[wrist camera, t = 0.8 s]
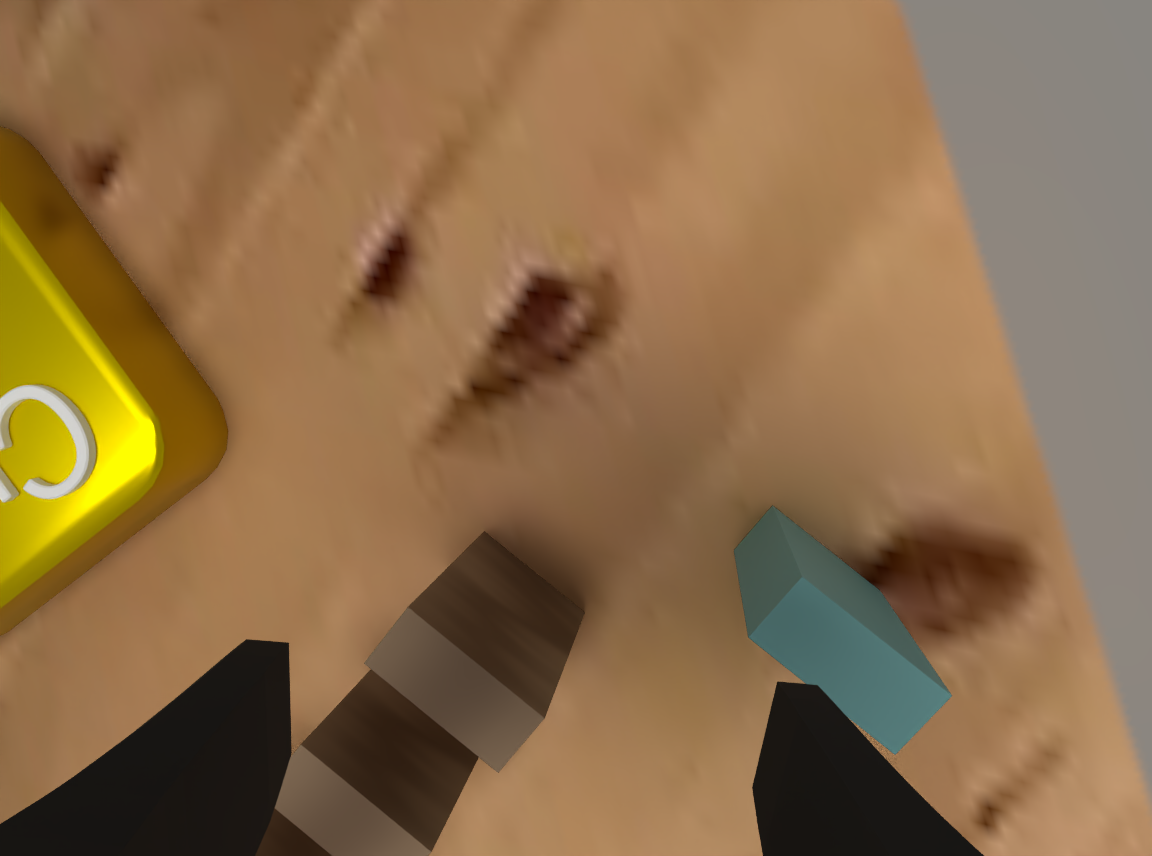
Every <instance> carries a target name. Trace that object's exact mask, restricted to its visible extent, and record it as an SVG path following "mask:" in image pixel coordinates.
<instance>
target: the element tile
mask: <svg viewBox="0 0 1152 856" xmlns="http://www.w3.org/2000/svg"><path fill="white" fill-rule="evenodd" d="M227 437H228V428H227V425H226V421H225V417H224V413H223V410H222V408H221V405H220V403H219V401H218V399H217V398H216V396H215V395H214V393H213V392H212V391H211V389H210V388H209V386H208V385H207V384H206V382H205V381H204V380H203V378H202V377H201V375H200V374H199V373H198V371H197V370H196V369H195V367H194V366H193V364H192V363H191V362H190V360H189V359H188V357H187V356H186V355H185V353H184V352H183V351H182V349H181V348H180V346H179V345H178V344H177V342H176V341H175V340H174V338H173V337H172V335H171V334H170V333H169V331H168V330H167V328H166V327H165V326H164V324H163V323H162V322H161V320H160V319H159V317H158V316H157V315H156V313H155V312H154V311H153V309H152V308H151V306H150V305H149V304H148V302H147V301H146V299H145V298H144V297H143V295H142V294H141V293H140V291H139V290H138V288H137V287H136V286H135V284H134V283H133V281H132V280H131V279H130V277H129V276H128V275H127V273H126V272H125V270H124V269H123V268H122V266H121V265H120V264H119V262H118V261H117V259H116V258H115V257H114V255H113V254H112V252H111V251H110V250H109V248H108V247H107V246H106V244H105V243H104V241H103V240H102V239H101V237H100V236H99V235H98V233H97V232H96V230H95V229H94V228H93V226H92V225H91V223H90V222H89V221H88V219H87V218H86V217H85V215H84V214H83V212H82V211H81V210H80V208H79V207H78V206H77V204H76V203H75V201H74V200H73V199H72V197H71V196H70V194H69V193H68V192H67V190H66V189H65V188H64V186H63V185H62V183H61V182H60V181H59V179H58V178H57V177H56V175H55V174H54V172H53V171H52V170H51V168H50V167H49V165H48V164H47V163H46V161H45V160H44V159H43V157H42V156H41V154H40V153H39V152H38V151H37V150H36V149H35V148H34V147H33V146H32V145H31V144H30V143H29V142H28V141H27V140H26V139H24V138H23V137H21V136H19V135H18V134H16V133H15V132H13V131H11V130H10V129H7V128H3V127H0V636H1V635H3V634H5V633H7V632H8V631H10V630H11V629H12V628H14V627H15V626H16V625H18V624H19V623H20V622H21V621H23V620H24V619H25V618H27V617H28V616H29V615H31V614H32V613H33V612H34V611H36V610H37V609H38V608H40V607H41V606H42V605H43V604H45V603H46V602H47V601H49V600H50V599H51V598H53V597H54V596H55V595H56V594H58V593H59V592H60V591H62V590H63V589H64V588H65V587H67V586H68V585H69V584H71V583H72V582H73V581H75V580H76V579H77V578H78V577H80V576H81V575H82V574H84V573H85V572H86V571H88V570H89V569H90V568H91V567H93V566H94V565H95V564H97V563H98V562H99V561H100V560H102V559H103V558H104V557H106V556H107V555H108V554H110V553H111V552H112V551H113V550H115V549H116V548H117V547H119V546H120V545H121V544H123V543H124V542H125V541H126V540H128V539H129V538H130V537H132V536H133V535H134V534H135V533H137V532H138V531H139V530H141V529H142V528H143V527H145V526H146V525H147V524H148V523H150V522H151V521H152V520H154V519H155V518H156V517H157V516H159V515H160V514H161V513H163V512H164V511H165V510H167V509H168V508H169V507H170V506H172V505H173V504H174V503H176V502H177V501H178V500H180V499H181V498H182V497H183V496H185V495H186V494H187V493H189V492H190V491H191V490H192V489H194V488H195V487H196V486H198V485H199V484H200V483H202V482H203V481H204V480H205V479H206V478H207V477H208V476H209V475H210V474H211V473H212V472H213V471H214V470H215V469H216V468H217V467H218V465H219V463H220V461H221V459H222V457H223V455H224V453H225V451H226V447H227Z"/></svg>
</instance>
